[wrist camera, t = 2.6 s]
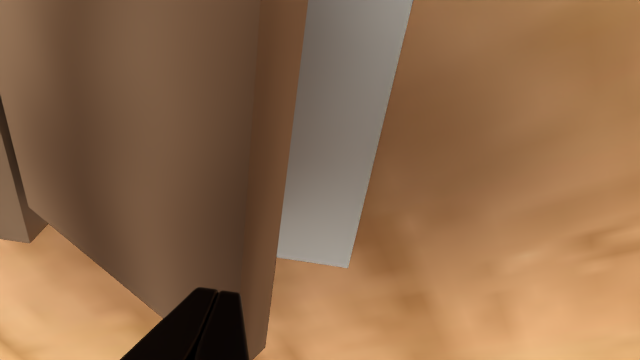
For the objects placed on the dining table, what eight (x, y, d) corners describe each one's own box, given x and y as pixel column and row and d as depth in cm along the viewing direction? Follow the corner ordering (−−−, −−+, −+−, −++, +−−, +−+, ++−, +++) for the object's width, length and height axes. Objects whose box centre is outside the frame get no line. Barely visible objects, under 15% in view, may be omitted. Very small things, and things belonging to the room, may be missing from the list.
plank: (324, -131, 7) (271, -143, 6) (265, 347, 12) (234, 377, 12) (-12, -179, 11) (-72, -192, 10) (62, 193, 17) (28, 206, 16)
